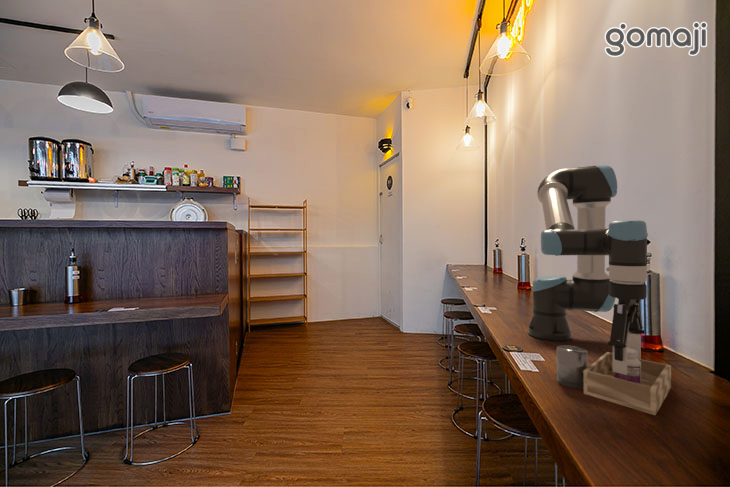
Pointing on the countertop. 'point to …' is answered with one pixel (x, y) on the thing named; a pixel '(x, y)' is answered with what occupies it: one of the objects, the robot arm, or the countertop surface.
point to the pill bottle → (631, 368)
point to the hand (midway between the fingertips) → (627, 365)
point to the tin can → (571, 365)
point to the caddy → (629, 384)
